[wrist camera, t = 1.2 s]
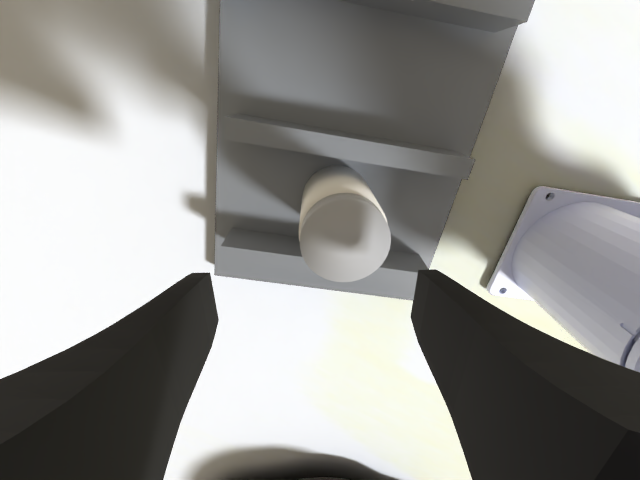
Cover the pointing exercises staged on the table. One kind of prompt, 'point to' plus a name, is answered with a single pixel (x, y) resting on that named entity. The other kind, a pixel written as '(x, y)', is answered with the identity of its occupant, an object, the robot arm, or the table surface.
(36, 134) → the table surface
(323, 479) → the casserole
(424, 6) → the grey slotted rack
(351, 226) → the cream rounded cylinder
